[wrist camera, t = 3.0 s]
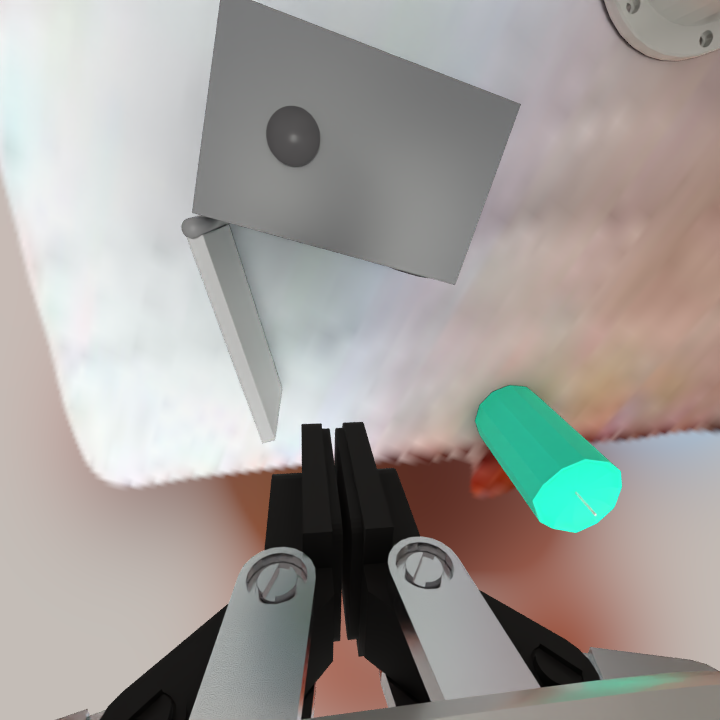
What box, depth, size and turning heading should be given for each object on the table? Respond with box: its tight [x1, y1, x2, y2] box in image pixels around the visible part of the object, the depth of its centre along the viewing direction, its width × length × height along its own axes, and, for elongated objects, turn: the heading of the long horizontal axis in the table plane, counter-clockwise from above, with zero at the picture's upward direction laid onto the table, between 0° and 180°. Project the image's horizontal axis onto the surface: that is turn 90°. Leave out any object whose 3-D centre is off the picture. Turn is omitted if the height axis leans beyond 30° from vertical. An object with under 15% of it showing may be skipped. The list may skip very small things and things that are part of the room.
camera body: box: [192, 0, 521, 285], centre depth 23 cm, size 14×9×9 cm
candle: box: [475, 385, 622, 533], centre depth 31 cm, size 6×6×12 cm
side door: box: [182, 215, 282, 443], centre depth 26 cm, size 14×2×7 cm, turn 12°
